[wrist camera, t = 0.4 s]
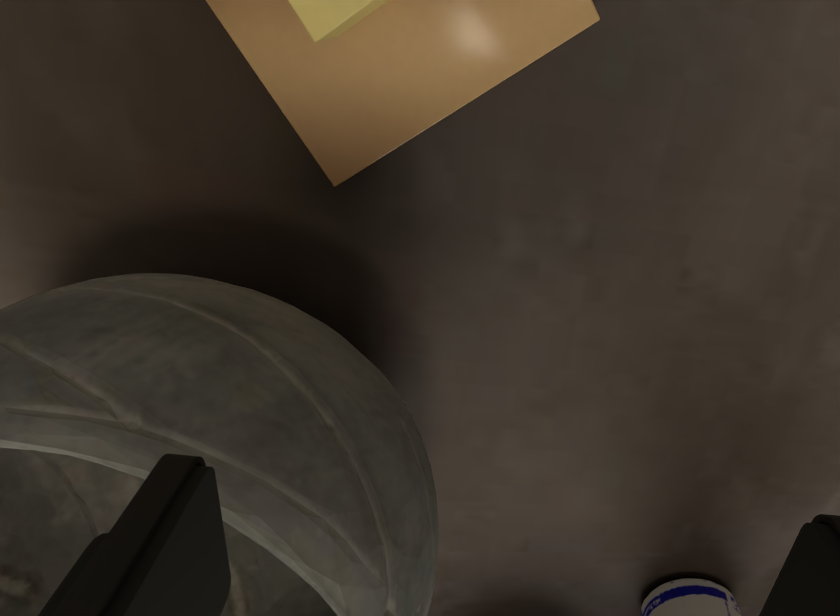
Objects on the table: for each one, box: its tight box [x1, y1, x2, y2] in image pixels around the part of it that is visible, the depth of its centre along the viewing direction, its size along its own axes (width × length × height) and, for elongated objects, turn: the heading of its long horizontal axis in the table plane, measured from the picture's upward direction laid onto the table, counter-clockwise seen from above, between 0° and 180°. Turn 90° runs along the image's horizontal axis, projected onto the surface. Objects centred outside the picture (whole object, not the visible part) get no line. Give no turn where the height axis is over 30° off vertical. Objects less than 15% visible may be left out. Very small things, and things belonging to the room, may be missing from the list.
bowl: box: [0, 273, 438, 616], centre depth 25 cm, size 21×21×15 cm
